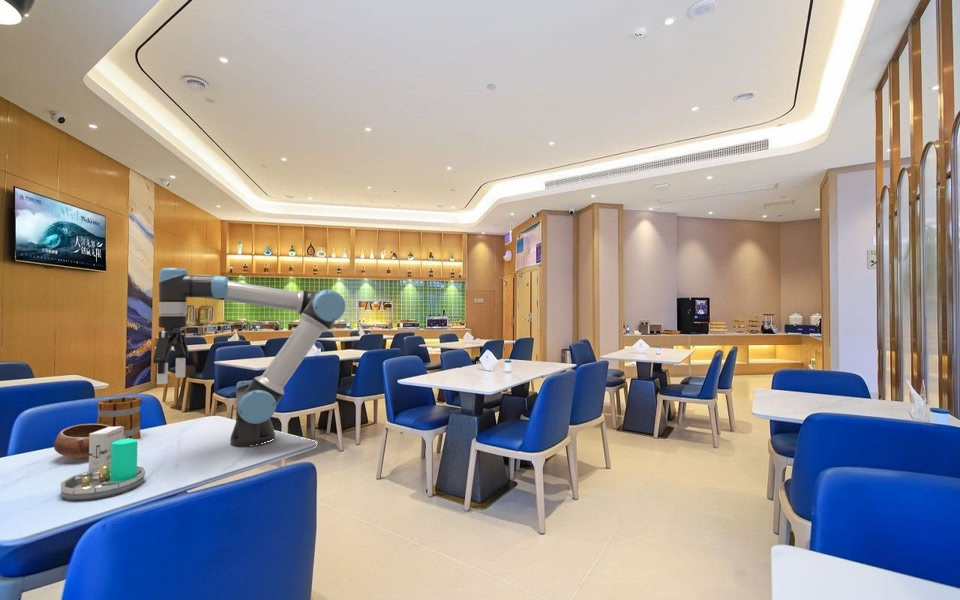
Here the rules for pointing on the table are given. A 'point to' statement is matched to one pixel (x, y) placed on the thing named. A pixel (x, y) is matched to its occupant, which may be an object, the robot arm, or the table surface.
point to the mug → (121, 415)
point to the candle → (123, 459)
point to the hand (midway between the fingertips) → (171, 380)
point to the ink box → (103, 446)
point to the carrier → (98, 485)
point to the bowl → (76, 440)
